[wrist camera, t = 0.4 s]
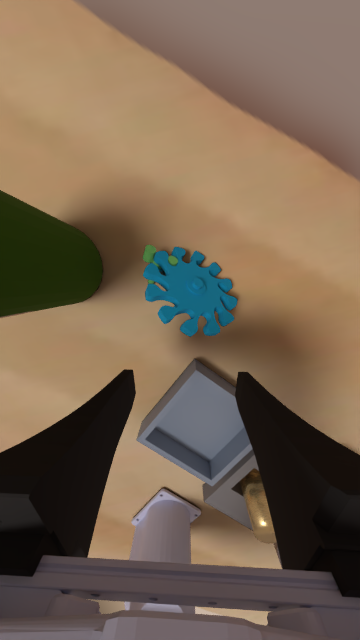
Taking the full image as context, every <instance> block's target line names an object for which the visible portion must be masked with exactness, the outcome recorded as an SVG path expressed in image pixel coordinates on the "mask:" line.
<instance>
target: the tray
mask: <svg viewBox="0 0 360 640" xmlns="http://www.w3.org/2000/svg"><path fill="white" fill-rule="evenodd" d="M235 391H236V387H234V386H233V385H231V384H230V383H229V382H227V381H226V380H224V379H223V378H221V377H220V376H219V375H217V374H216V373H214V372H213V371H212V370H210V369H209V368H207V367H206V366H205V365H203V364H202V363H200V362H199V361H197V360H196V359H195V358H194V360H193V361H192V362H191V363H190V364H189V366H188V367H187V368H186V369H185V370H184V372H183V373H182V374H181V375H180V376H179V378H178V379H177V380H176V381H175V382H174V384H173V385H172V386H171V387H170V388H169V390H168V391H167V392H166V393H165V395H164V396H163V397H162V398H161V399H160V401H159V402H158V403H157V404H156V405H155V407H154V408H153V409H152V410H151V411H150V413H149V414H148V415H147V416H146V417H145V419H144V420H143V421H142V423H141V427H140V430H139V433H138V437H137V441H138V442H140V443H142V444H143V445H145V446H147V447H148V448H150V449H151V450H153V451H155V452H156V453H158V454H160V455H161V456H163V457H165V458H166V459H168V460H170V461H171V462H173V463H174V464H176V465H178V466H179V467H181V468H183V469H184V470H186V471H188V472H189V473H191V474H193V475H194V476H196V477H197V478H199V479H201V480H202V481H204V482H206V483H207V484H209V485H211V486H214V485H215V484H216V483H217V482H218V481H219V480H220V479H221V478H222V477H223V476H224V475H225V474H226V473H227V472H228V471H229V470H231V469H232V468H233V467H234V466H235V465H236V464H237V463H238V462H239V461H240V460H241V459H242V458H243V457H244V456H245V455H246V454H248V453H249V452H250V451H251V450H252V449H253V448H252V446H251V443H250V440H249V438H248V435H247V432H246V430H245V427H244V424H243V421H242V419H241V416H240V413H239V410H238V406H237V402H236V398H235Z"/></svg>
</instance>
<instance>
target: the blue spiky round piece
mask: <svg viewBox="0 0 360 640" xmlns="http://www.w3.org/2000/svg"><path fill="white" fill-rule="evenodd" d="M185 253H186V252H185V250H184V249H182V248H179V247H174V249H173V251H172V254H171V255H172V256H168V253H167V252H166V251H159V252H156V248H155V247H154V246H152V245H147V246H146V248H145V251H144V255H143V260H144V261H145V262H148V263H150V264H148V265H147V267H146V268H145V271H144V274H143V276H144V277H145V278H146V279H148V286H147V289H146V291H145V297H146V300H147V301H150V302H153V301H156V300H165V301H169V302H171V303H173V304H174V305H175V306H174V307H170V306H162V307H161V308H160V310H159V312H158V316H159V318H160V319H161V321H162V322H163V323H164V324H167V323H169V322H170V321H171V320H172V319H173V317H174V316H175V315H178V314H180V313H187V314H189V315H190V317H191V319H190V320H187V321H185V322H184V323H183V324H182V325H181V327H180V330H181V331H182V332H183V333H184V334H186V335H188V336H190V337H191V336H192V335H194V334H195V333H196V332H197V330H198V325H197V323H198V319H199V317H200V316H204V317H205V318H206V320H207V323H206V325H205V326H204V328H203V332H204V334H205V335H208V336H214V335H216V334H218V333H220V327H219V325H218V324H217V322H216V320H215V316H214V311H216V312H217V313H218V316H219V318H218V320H219V323H220V325H221V326H226V325H227V324H229V323H230V322H232V321H233V320H234V317H233V315H232V314H231V313H229V312H228V311H227V310H232V309H233V308H234V307H235V306H236V305H237V299H236V298H235V297H233V296H229V295H227V294H225V293H224V292H228V291H229V290H230V289H232V283H231V281H230V280H229V279H227V278H226V279H217V278H215V277H212V276H216V275H217V274H218V273H219V272H220V271H221V269H220V267H219V266H218V265H217V264H216V263H212V264H211V265H210V266H209V267H206V268H201V267H199V266H198V265H200V264H201V262H202V261H203V259H204V256H203V255H202V254H201V253H199V252H197V251H195V252H194V253H193V255H192V256H191V262H190V263H185V262H183V261H182V259H183V257H184V255H185ZM168 257H169V258H168ZM154 282H157V283H159V284H160V285H161V286H163V287H164V288H165V289H166V291H162V290H161V289H160V288H159V287H158V286H156V285H155V284H154ZM220 300H221V301H222V302H223V304H224V306H225V308H226V309H227V310H226V309H225V308H224V306H223V305H222V303H221V301H220Z"/></svg>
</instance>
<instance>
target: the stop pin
mask: <svg viewBox="0 0 360 640" xmlns="http://www.w3.org/2000/svg"><path fill="white" fill-rule="evenodd" d="M239 482H240V485H241V489H242V492H243V496H244V499H245V503H246V507H247V510H248V514H249V517H250V521H251V524H252V528H253V532H254V535H255V537H256V538H257V539H258V540H259V541H261V542H264V543H276V542H277V541H276V537H275V532H274V528H273V523H272V519H271V515H270V511H269V507H268V503H267V499H266V495H265V491H264V487H263V483H262V480H261V476H260V472H259V471H258V470H257V469H255V468H254V469H252V470H251V471H250V472H249V473H248V474H247V475H246V476H245V477H244V478H242V479H241V480H240V481H239Z"/></svg>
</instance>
